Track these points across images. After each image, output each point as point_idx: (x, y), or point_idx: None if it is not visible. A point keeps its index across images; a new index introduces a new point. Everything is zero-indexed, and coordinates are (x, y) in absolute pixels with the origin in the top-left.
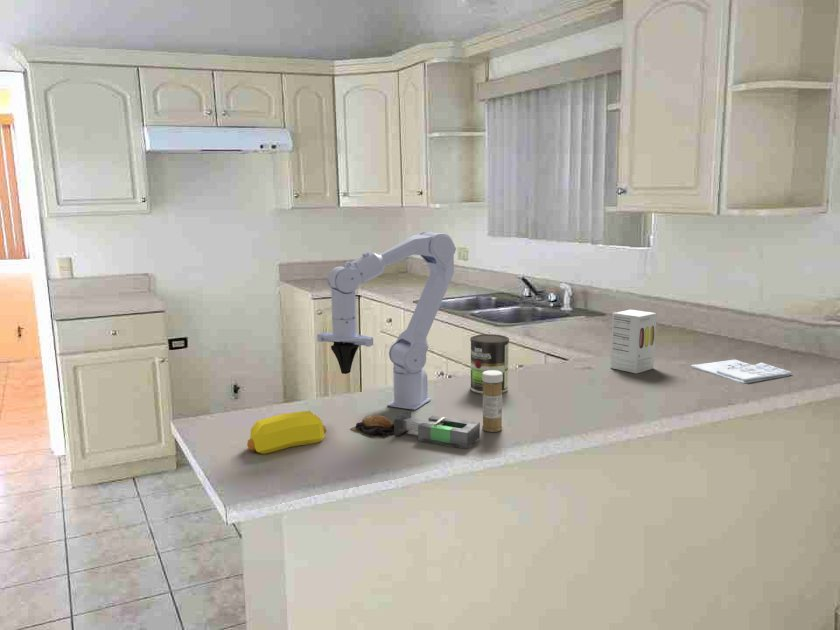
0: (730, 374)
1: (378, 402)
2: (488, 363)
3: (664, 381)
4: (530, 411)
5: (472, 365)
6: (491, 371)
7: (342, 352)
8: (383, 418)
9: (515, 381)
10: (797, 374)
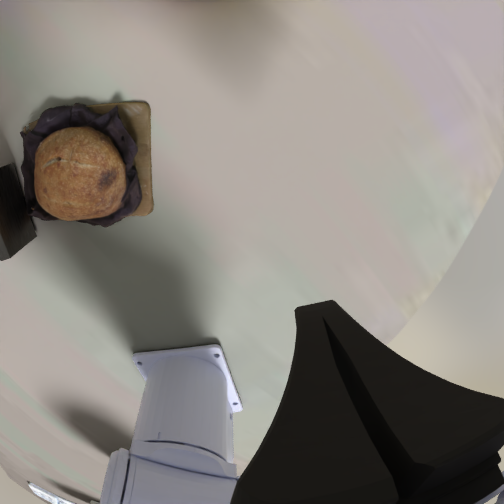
0: (43, 492)
1: (269, 353)
2: None
3: (58, 487)
4: (21, 408)
5: None
6: None
7: (342, 439)
8: (42, 187)
9: None
10: None
